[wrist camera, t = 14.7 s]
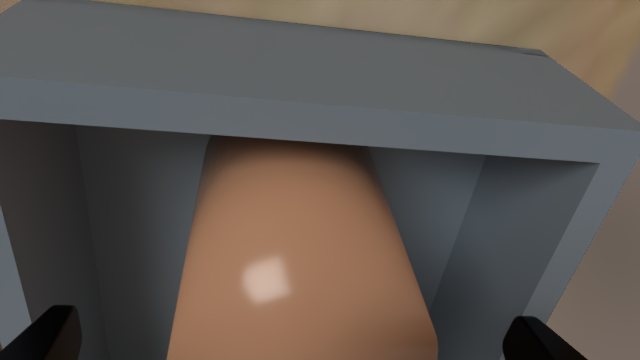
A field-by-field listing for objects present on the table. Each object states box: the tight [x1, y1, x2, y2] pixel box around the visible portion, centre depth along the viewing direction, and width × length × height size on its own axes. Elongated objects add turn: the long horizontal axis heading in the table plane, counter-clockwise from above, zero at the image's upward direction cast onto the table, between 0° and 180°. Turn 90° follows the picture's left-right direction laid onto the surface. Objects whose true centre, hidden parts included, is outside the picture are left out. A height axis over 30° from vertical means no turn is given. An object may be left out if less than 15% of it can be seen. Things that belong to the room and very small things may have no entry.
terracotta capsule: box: [167, 135, 438, 360], centre depth 12 cm, size 5×5×7 cm
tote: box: [0, 0, 640, 360], centre depth 16 cm, size 18×14×5 cm
